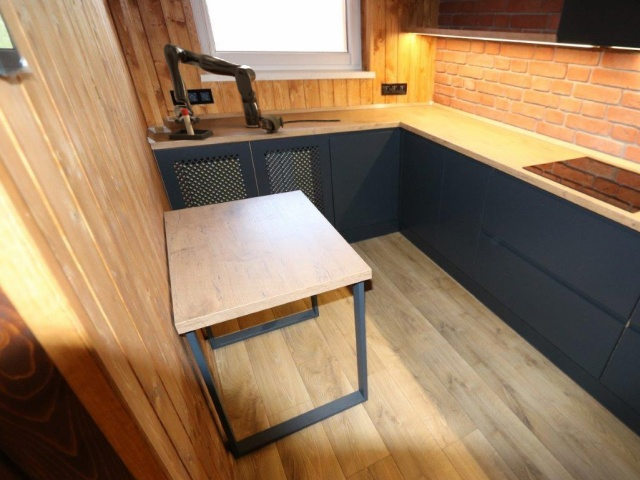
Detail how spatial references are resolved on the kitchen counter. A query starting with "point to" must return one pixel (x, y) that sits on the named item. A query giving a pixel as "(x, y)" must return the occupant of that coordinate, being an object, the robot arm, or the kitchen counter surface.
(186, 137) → the tray
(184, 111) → the marker
